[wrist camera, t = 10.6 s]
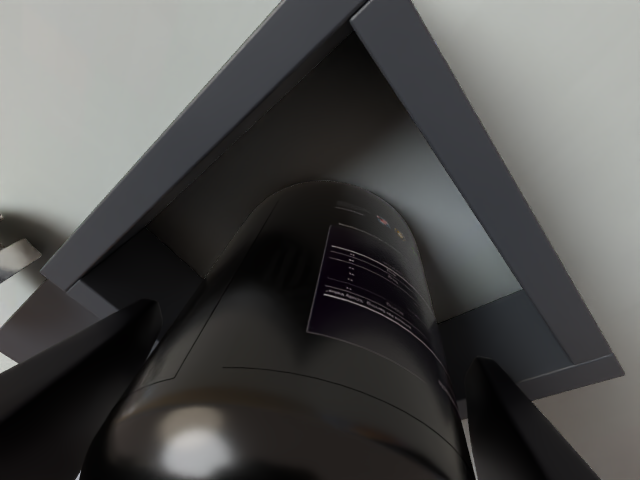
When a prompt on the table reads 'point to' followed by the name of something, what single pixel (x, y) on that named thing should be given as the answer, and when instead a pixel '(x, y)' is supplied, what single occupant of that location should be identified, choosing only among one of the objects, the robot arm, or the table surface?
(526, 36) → the table surface
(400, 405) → the supplement bottle
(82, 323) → the panel
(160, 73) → the table surface
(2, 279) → the grooved metal pulley
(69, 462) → the robot arm
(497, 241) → the frame
